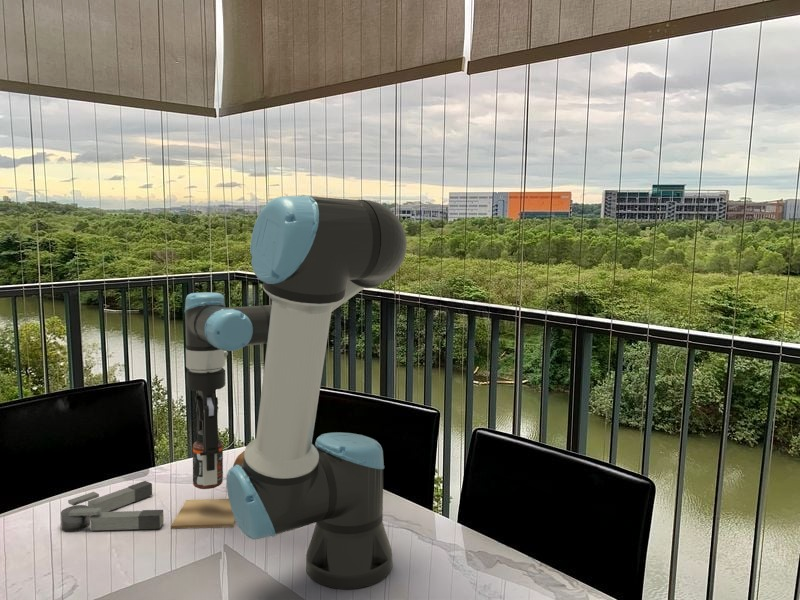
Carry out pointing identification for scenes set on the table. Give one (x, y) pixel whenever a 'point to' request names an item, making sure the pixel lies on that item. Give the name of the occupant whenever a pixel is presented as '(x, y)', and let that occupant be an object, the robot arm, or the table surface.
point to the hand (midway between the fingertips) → (207, 478)
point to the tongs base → (109, 519)
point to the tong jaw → (115, 497)
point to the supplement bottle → (199, 464)
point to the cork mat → (204, 514)
